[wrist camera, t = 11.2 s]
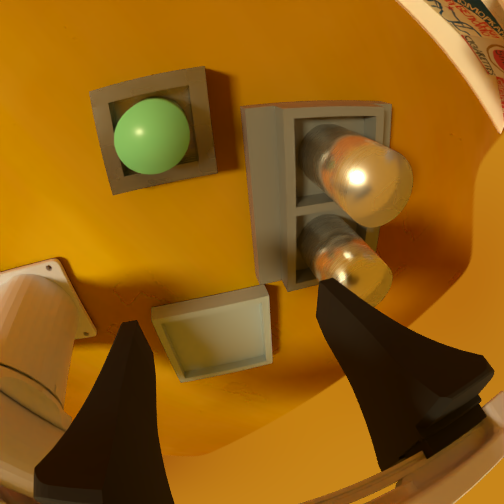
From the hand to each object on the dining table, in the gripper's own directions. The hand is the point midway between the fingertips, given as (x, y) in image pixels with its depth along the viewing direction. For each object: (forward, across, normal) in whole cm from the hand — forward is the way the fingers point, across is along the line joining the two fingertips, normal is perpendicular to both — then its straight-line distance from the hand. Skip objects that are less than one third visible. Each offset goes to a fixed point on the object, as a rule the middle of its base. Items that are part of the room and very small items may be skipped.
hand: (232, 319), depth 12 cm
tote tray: (+10, +1, +12) cm, 16 cm away
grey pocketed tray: (+10, -8, 0) cm, 13 cm away
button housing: (+10, +2, -6) cm, 12 cm away
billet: (+9, -8, +3) cm, 12 cm away
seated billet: (+9, -8, -3) cm, 12 cm away
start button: (+9, +2, -6) cm, 11 cm away
